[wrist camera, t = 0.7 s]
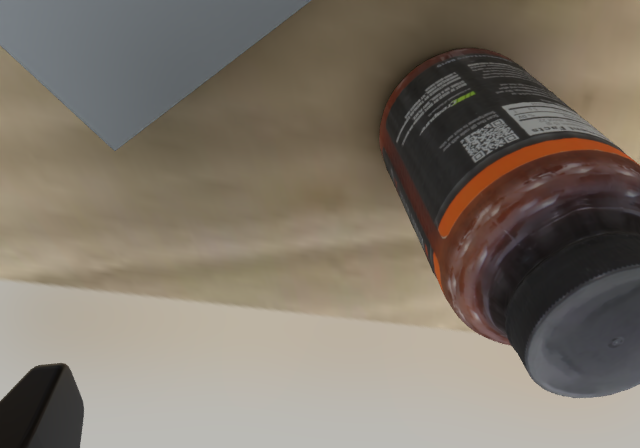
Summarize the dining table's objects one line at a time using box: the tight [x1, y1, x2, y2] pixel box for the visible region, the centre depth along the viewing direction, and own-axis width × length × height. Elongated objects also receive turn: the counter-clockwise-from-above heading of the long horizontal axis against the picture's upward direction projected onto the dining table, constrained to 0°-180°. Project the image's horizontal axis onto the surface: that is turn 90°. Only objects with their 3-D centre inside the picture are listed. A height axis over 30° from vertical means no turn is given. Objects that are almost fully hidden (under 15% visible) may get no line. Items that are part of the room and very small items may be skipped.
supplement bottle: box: [379, 48, 640, 398], centre depth 17 cm, size 6×6×11 cm
